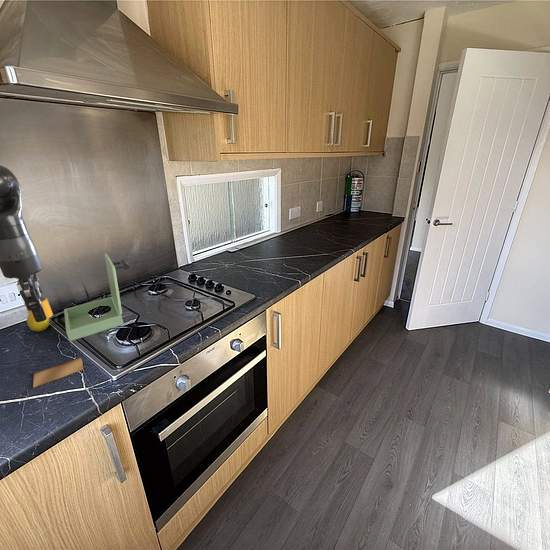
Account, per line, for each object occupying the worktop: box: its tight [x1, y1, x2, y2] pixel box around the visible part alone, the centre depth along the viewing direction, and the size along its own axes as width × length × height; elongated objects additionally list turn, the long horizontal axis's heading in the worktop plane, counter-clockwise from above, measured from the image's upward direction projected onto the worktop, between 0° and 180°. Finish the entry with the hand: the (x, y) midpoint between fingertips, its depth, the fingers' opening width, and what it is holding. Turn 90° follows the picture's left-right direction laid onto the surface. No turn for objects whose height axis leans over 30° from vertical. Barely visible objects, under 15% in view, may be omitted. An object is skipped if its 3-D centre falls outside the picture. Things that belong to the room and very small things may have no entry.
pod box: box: [63, 296, 125, 342], centre depth 101 cm, size 16×18×4 cm
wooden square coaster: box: [32, 356, 84, 388], centre depth 81 cm, size 11×11×1 cm
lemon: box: [26, 314, 50, 333], centre depth 96 cm, size 6×6×8 cm
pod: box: [23, 295, 54, 322], centre depth 75 cm, size 5×5×5 cm
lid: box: [103, 253, 130, 315], centre depth 103 cm, size 16×18×6 cm
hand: (41, 316), depth 76 cm, fingers closed on pod, 4 cm apart
